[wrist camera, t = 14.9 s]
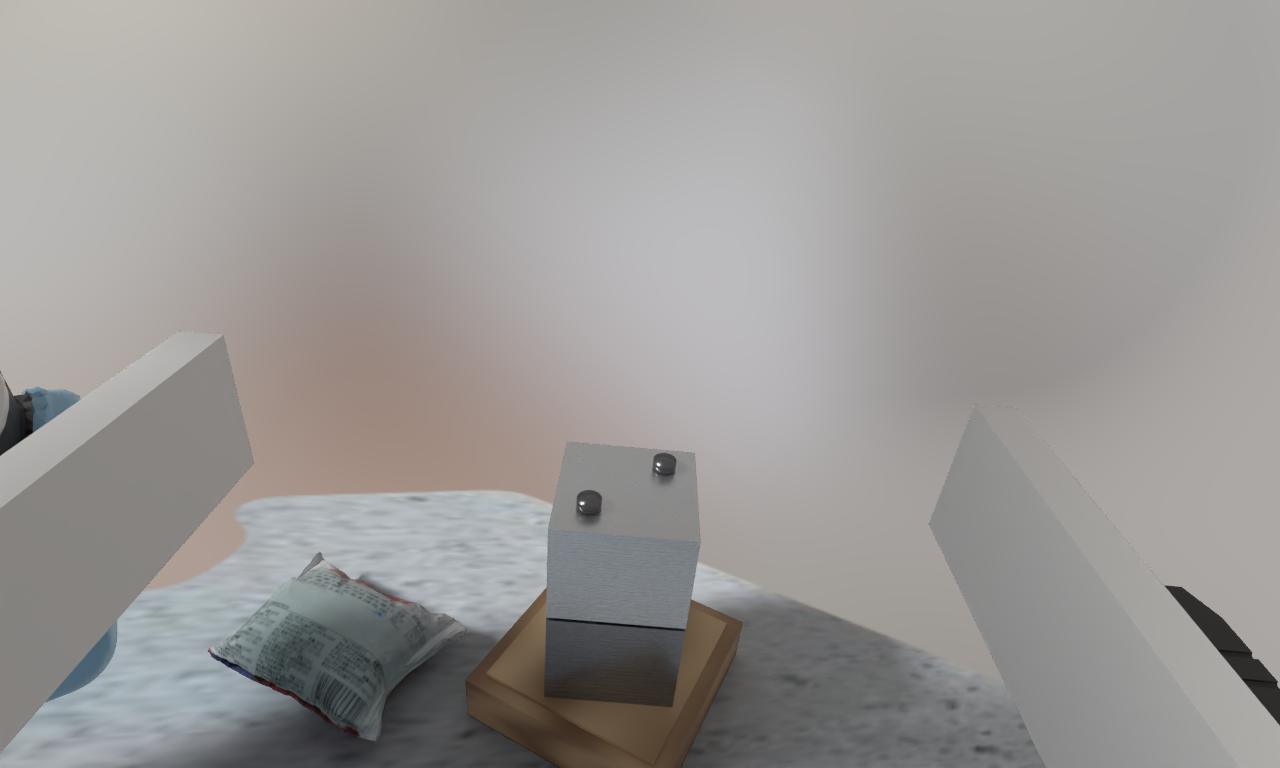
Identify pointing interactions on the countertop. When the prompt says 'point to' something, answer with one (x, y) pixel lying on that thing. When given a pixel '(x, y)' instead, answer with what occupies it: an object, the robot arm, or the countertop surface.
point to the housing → (620, 573)
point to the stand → (593, 730)
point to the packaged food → (336, 645)
